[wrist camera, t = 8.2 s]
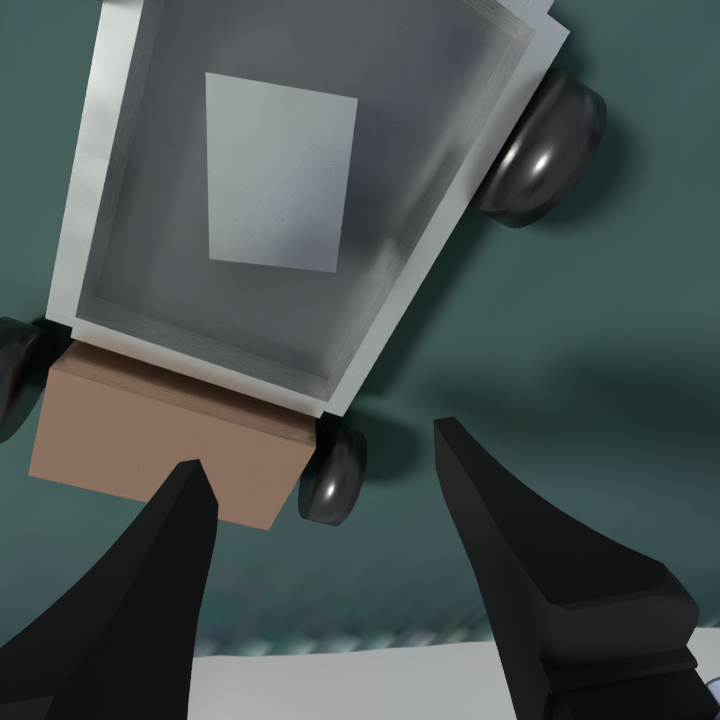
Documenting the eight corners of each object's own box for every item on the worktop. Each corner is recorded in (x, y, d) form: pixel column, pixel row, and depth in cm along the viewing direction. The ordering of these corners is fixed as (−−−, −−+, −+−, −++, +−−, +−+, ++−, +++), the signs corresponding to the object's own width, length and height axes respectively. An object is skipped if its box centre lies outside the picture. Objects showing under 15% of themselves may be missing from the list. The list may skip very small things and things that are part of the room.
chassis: (582, 51, 17) (675, 38, 13) (316, 485, 27) (318, 558, 23) (115, -302, 12) (6, -526, 7) (7, 400, 22) (-64, 475, 18)
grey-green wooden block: (344, 95, 16) (357, 98, 12) (328, 231, 19) (335, 272, 15) (232, 76, 16) (205, 72, 12) (231, 219, 18) (209, 259, 14)
